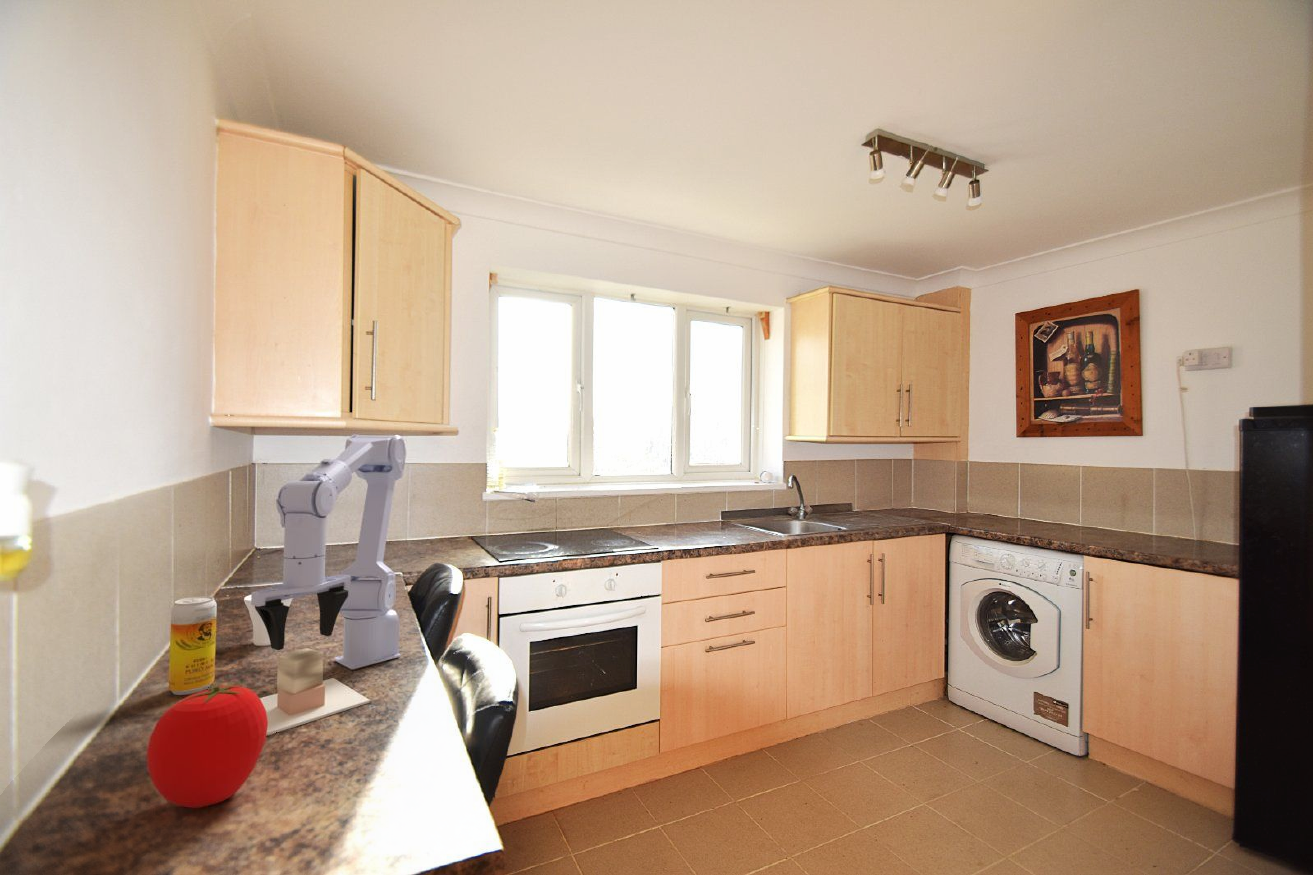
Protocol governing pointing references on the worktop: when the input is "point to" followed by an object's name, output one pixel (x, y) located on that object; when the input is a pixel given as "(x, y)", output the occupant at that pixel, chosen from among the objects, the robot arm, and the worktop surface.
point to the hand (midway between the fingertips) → (302, 641)
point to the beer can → (192, 644)
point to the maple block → (300, 670)
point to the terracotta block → (301, 700)
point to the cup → (260, 623)
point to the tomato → (207, 745)
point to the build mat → (335, 702)
